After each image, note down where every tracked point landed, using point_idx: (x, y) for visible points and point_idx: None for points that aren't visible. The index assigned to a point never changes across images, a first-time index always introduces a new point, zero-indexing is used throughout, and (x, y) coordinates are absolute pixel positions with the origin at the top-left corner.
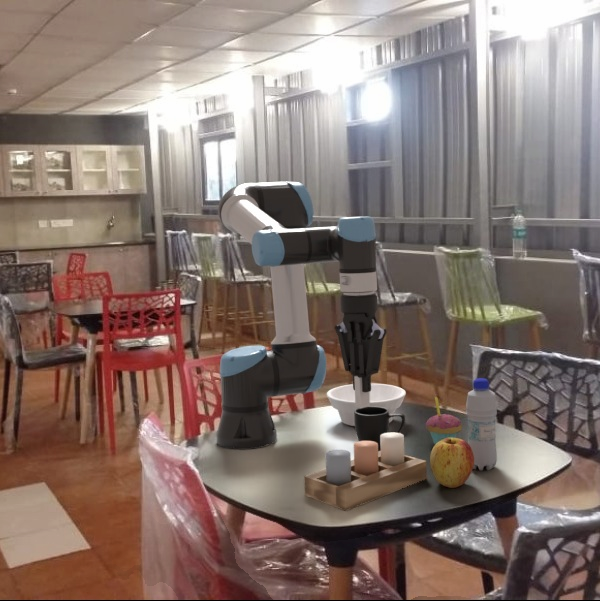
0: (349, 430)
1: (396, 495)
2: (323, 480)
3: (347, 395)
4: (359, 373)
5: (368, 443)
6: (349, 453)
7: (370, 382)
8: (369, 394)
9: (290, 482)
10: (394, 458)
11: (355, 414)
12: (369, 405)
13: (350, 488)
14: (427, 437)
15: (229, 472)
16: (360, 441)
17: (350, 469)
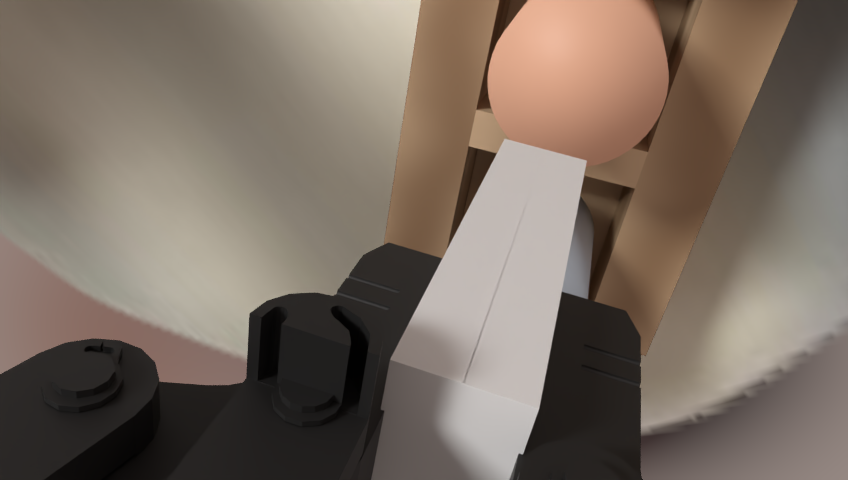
0: None
1: (796, 47)
2: (453, 234)
3: None
4: (363, 474)
5: (583, 58)
6: (573, 287)
7: (637, 416)
8: (574, 220)
9: (260, 145)
10: None
11: None
12: (583, 168)
13: (652, 325)
14: None
15: (13, 165)
16: (504, 43)
17: (587, 249)
